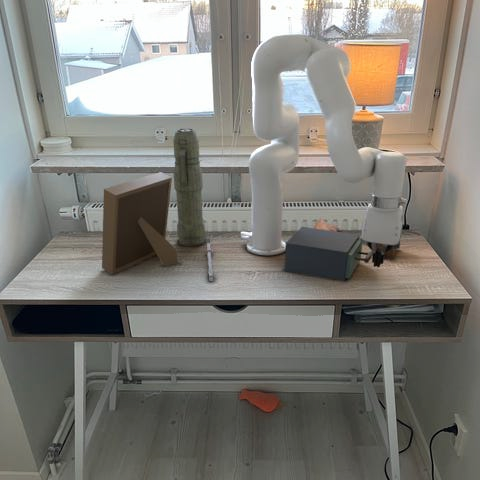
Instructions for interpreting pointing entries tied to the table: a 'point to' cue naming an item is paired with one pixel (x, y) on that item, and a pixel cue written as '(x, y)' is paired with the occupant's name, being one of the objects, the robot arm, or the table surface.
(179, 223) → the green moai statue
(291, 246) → the cabinet
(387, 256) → the box
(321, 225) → the sunglasses case
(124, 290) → the table surface
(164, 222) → the photo frame
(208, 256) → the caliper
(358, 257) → the drawer
